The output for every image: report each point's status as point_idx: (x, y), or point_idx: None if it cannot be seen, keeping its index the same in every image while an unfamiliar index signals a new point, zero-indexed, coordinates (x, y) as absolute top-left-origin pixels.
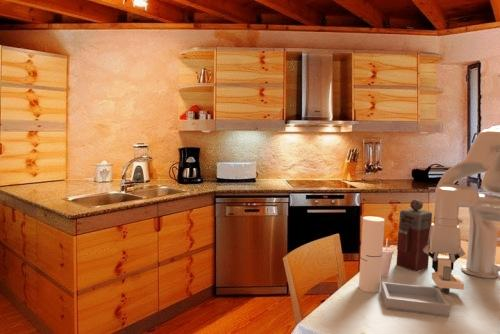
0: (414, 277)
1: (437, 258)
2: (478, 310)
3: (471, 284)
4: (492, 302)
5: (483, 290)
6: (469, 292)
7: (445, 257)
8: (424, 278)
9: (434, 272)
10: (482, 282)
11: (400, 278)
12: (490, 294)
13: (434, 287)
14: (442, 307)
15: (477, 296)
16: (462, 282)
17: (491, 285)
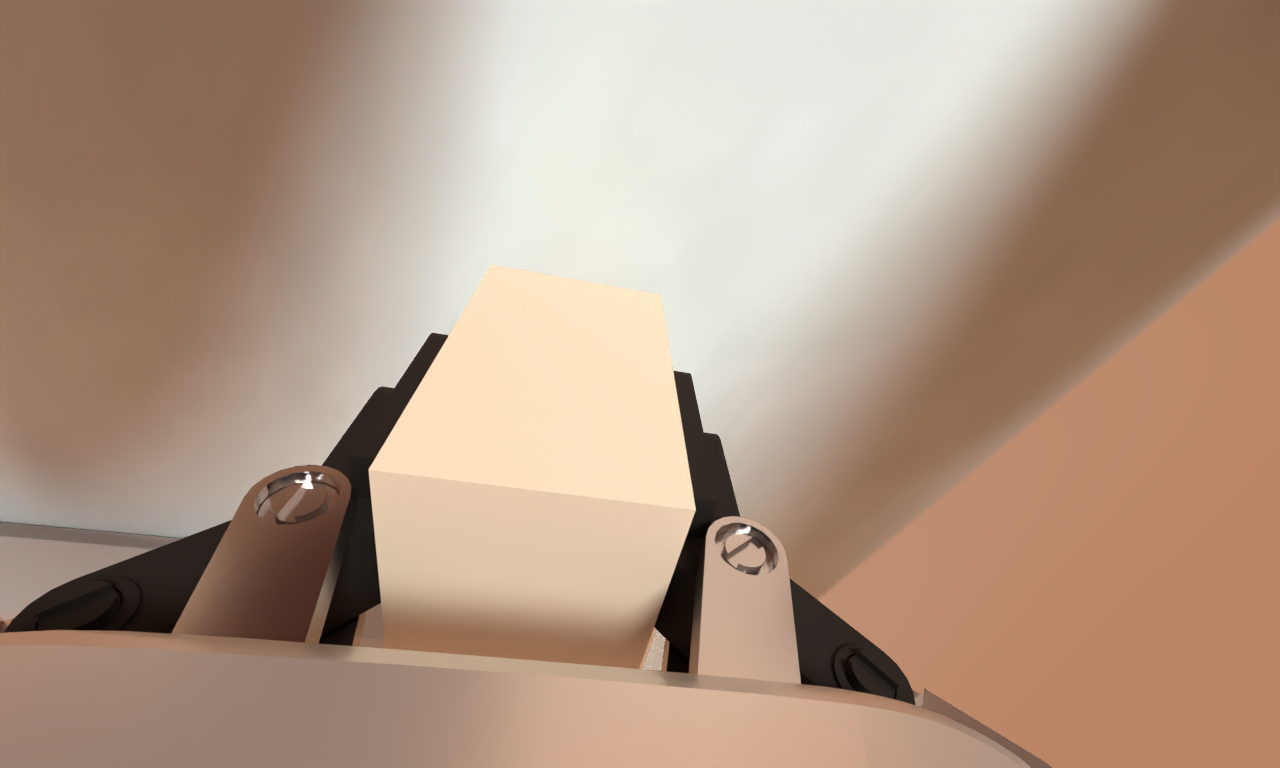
0: (259, 78)
1: (387, 593)
2: (645, 659)
3: (957, 261)
4: (827, 574)
5: (951, 397)
6: (773, 449)
7: (599, 573)
8: (413, 108)
9: (487, 274)
10: (1165, 182)
11: (41, 145)
12: (938, 465)
13: (365, 640)
14: None
15: (787, 507)
16: (646, 648)
17: (1176, 267)
